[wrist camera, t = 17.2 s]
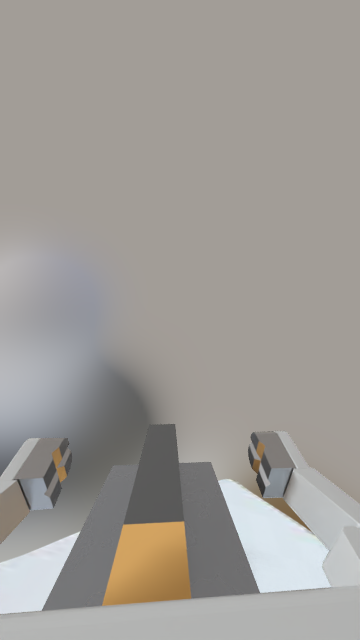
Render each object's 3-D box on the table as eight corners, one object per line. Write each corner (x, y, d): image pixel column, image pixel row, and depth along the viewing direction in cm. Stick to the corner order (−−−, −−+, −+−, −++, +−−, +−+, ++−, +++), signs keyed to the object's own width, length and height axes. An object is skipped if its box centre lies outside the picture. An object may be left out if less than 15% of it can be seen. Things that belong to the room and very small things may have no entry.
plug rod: (88, 766, 6) (94, 635, 6) (148, 452, 23) (149, 424, 24) (195, 754, 6) (193, 627, 6) (175, 451, 24) (175, 424, 24)
